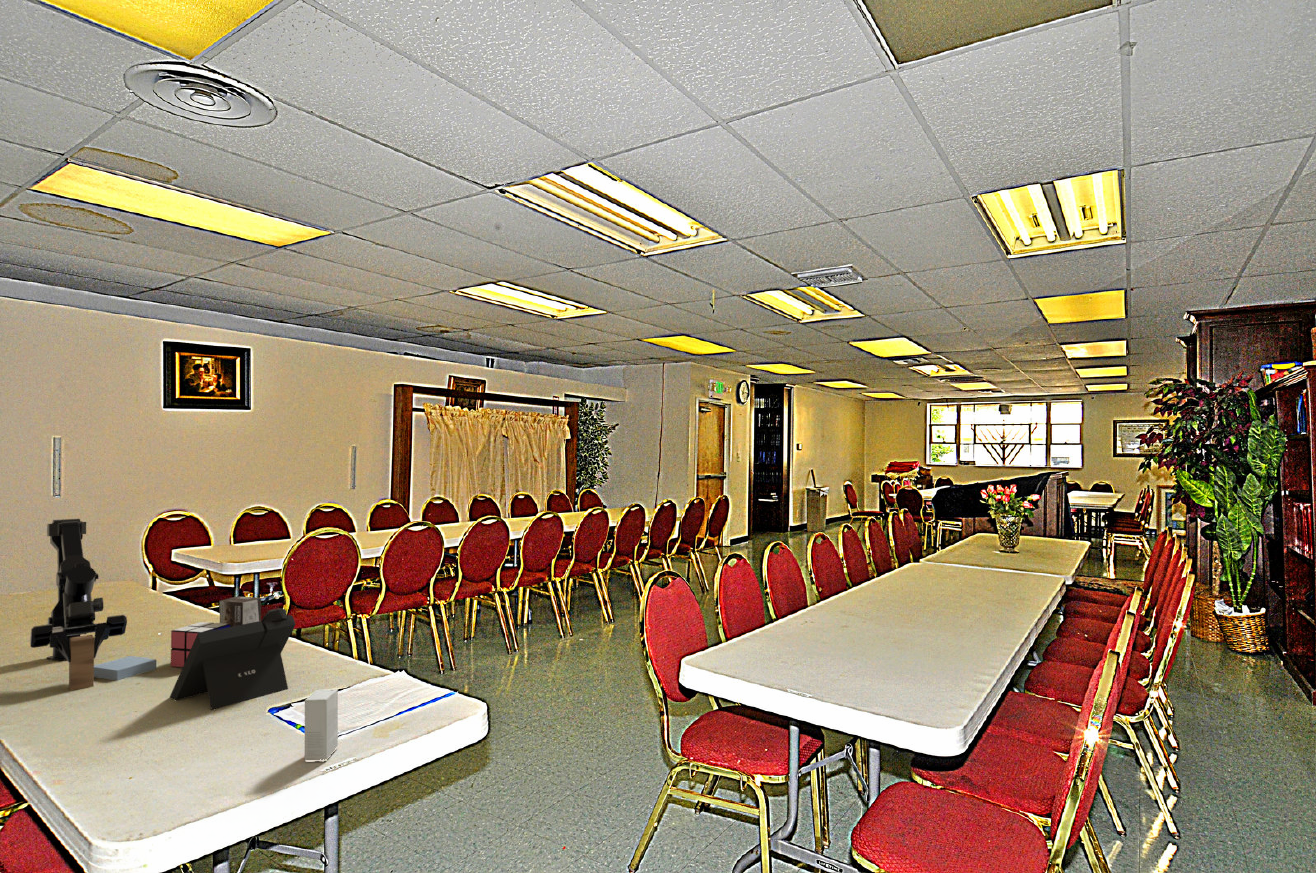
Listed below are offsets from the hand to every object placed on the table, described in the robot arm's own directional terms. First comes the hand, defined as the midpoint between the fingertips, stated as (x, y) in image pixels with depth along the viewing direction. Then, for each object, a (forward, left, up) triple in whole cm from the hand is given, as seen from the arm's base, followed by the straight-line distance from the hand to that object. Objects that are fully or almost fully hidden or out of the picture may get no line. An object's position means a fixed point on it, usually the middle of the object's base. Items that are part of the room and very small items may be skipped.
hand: (82, 659), depth 175 cm
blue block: (-2, +12, -7) cm, 14 cm away
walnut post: (-1, +1, -7) cm, 7 cm away
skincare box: (+86, -11, -7) cm, 87 cm away
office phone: (+34, +15, -7) cm, 38 cm away
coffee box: (+13, +34, -7) cm, 37 cm away
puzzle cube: (+9, +25, -7) cm, 27 cm away
